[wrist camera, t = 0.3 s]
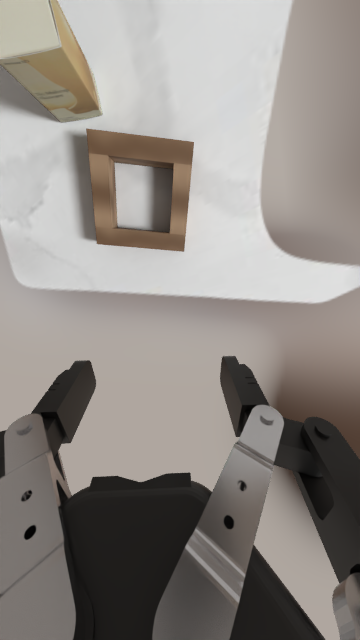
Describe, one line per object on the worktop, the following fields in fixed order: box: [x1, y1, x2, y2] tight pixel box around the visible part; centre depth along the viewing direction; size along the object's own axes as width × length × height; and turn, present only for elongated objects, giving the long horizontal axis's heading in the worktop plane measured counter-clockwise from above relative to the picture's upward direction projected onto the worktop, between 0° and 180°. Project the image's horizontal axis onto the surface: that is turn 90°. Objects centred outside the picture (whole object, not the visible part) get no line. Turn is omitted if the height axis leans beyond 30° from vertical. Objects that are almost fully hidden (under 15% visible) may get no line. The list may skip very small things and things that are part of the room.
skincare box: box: [0, 0, 102, 122], centre depth 21 cm, size 6×4×12 cm
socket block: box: [86, 129, 194, 251], centre depth 31 cm, size 14×14×4 cm
